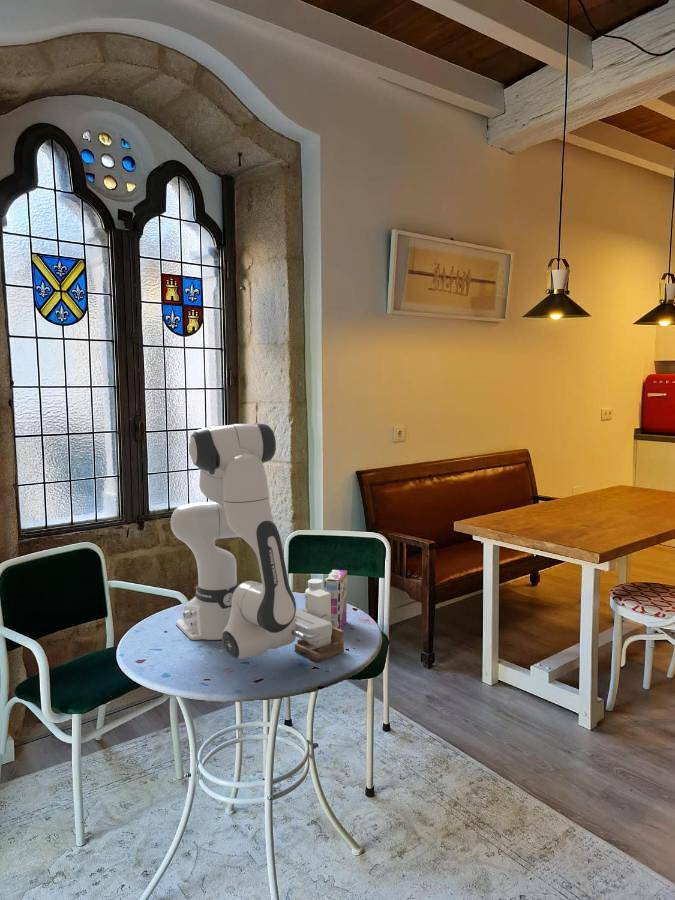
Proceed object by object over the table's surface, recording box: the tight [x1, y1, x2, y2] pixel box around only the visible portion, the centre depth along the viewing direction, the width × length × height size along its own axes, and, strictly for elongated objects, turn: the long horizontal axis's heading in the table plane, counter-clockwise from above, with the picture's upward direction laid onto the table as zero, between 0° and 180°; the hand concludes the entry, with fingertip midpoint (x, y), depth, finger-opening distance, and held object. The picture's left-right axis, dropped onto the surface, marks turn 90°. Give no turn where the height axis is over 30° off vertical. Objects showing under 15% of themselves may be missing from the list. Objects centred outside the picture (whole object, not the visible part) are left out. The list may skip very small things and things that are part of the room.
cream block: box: [307, 589, 331, 648], centre depth 172 cm, size 4×5×14 cm
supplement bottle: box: [304, 578, 324, 610], centre depth 195 cm, size 7×7×13 cm
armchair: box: [294, 626, 345, 663], centre depth 173 cm, size 10×10×6 cm
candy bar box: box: [323, 569, 348, 630], centre depth 189 cm, size 11×5×16 cm, turn 168°
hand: (321, 614), depth 173 cm, fingers closed on cream block, 4 cm apart
